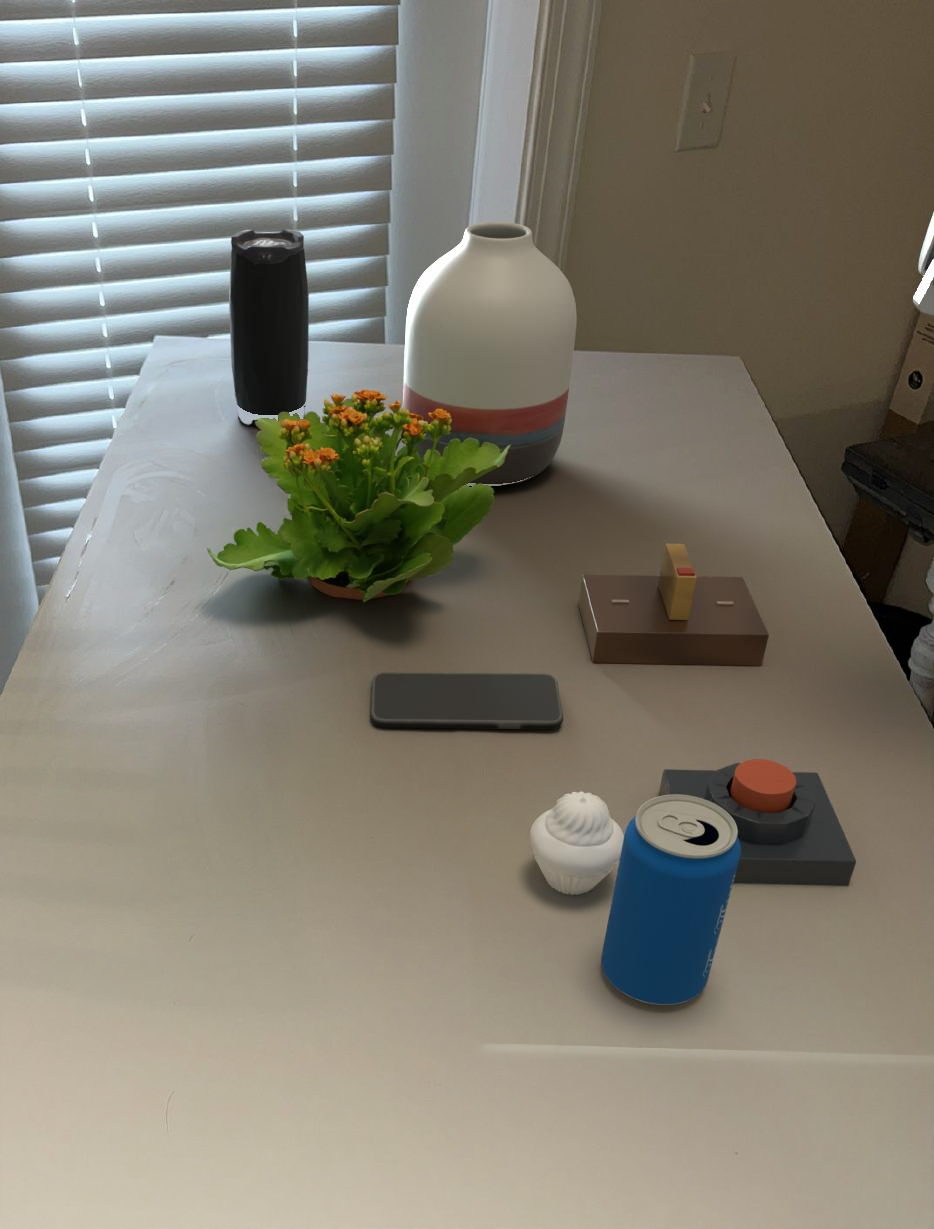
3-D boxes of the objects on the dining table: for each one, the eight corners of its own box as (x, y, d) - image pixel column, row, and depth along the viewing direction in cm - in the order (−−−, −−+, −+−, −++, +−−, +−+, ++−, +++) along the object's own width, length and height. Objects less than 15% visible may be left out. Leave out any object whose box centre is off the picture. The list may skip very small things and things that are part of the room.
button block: (810, 796, 97) (823, 751, 95) (848, 886, 89) (864, 840, 87) (658, 793, 98) (667, 748, 95) (682, 882, 90) (693, 836, 87)
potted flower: (281, 503, 136) (279, 327, 125) (513, 531, 131) (532, 351, 120) (200, 622, 117) (188, 428, 106) (467, 660, 112) (484, 461, 101)
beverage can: (684, 1029, 79) (723, 875, 72) (583, 987, 82) (610, 835, 75) (720, 964, 84) (760, 812, 76) (622, 927, 86) (652, 777, 79)
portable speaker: (309, 402, 157) (309, 224, 145) (306, 433, 150) (306, 249, 138) (236, 401, 158) (230, 224, 145) (230, 432, 150) (223, 248, 138)
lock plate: (736, 606, 119) (743, 574, 117) (761, 666, 111) (769, 632, 109) (578, 604, 120) (582, 572, 118) (592, 663, 112) (597, 629, 110)
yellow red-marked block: (657, 585, 116) (665, 540, 113) (676, 585, 116) (684, 540, 113) (668, 620, 111) (677, 574, 109) (688, 620, 111) (697, 574, 108)
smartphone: (371, 670, 109) (556, 671, 108) (371, 680, 110) (555, 681, 109) (370, 721, 104) (565, 723, 103) (370, 731, 104) (564, 733, 103)
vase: (377, 483, 140) (385, 243, 125) (429, 425, 152) (442, 200, 137) (535, 510, 134) (563, 263, 120) (575, 448, 147) (605, 217, 132)
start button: (782, 779, 93) (788, 759, 92) (797, 815, 90) (803, 794, 89) (724, 778, 93) (729, 758, 92) (736, 814, 90) (742, 793, 89)
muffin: (515, 897, 89) (525, 814, 84) (535, 843, 93) (546, 761, 89) (608, 919, 87) (624, 835, 83) (624, 862, 91) (640, 780, 87)
